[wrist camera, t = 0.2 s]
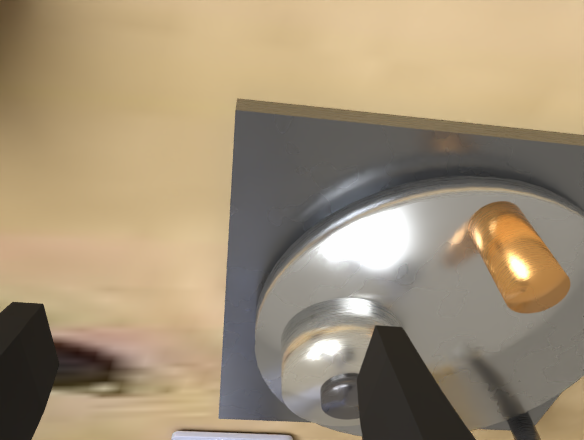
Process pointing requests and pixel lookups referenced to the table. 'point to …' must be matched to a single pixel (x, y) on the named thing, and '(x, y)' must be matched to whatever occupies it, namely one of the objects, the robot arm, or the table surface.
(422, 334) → the platter
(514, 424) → the turntable base
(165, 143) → the table surface
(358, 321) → the cover
